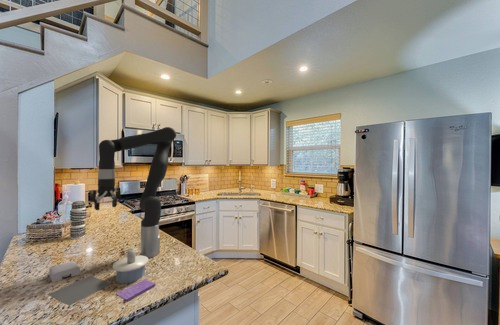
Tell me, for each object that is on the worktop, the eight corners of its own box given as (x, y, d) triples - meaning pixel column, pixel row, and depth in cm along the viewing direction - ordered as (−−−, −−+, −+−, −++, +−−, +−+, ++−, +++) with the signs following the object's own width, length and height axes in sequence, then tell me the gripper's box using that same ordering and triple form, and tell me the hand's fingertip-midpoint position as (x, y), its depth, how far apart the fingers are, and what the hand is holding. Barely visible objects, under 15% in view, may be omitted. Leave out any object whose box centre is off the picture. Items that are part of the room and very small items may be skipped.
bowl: (133, 270, 102) (133, 256, 102) (149, 275, 97) (149, 261, 97) (110, 281, 92) (110, 266, 92) (127, 287, 87) (127, 272, 87)
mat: (90, 277, 94) (90, 275, 94) (111, 286, 88) (111, 283, 88) (47, 296, 81) (47, 294, 81) (69, 308, 75) (69, 305, 75)
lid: (134, 255, 104) (134, 243, 104) (155, 260, 98) (155, 248, 98) (105, 267, 91) (105, 254, 91) (127, 274, 85) (127, 260, 86)
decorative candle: (81, 234, 152) (82, 199, 153) (88, 236, 148) (89, 201, 149) (66, 238, 144) (67, 201, 144) (73, 240, 140) (74, 203, 140)
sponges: (115, 298, 81) (115, 293, 81) (145, 282, 92) (145, 278, 92) (126, 304, 78) (126, 299, 78) (155, 287, 89) (155, 282, 89)
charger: (72, 266, 105) (79, 276, 96) (47, 273, 98) (52, 285, 89) (72, 256, 106) (80, 266, 96) (47, 263, 98) (52, 274, 89)
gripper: (115, 177, 119) (114, 205, 118) (87, 178, 106) (86, 210, 105) (124, 177, 116) (123, 206, 115) (96, 178, 103) (95, 211, 102)
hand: (106, 208), depth 110 cm, fingers open, 8 cm apart
